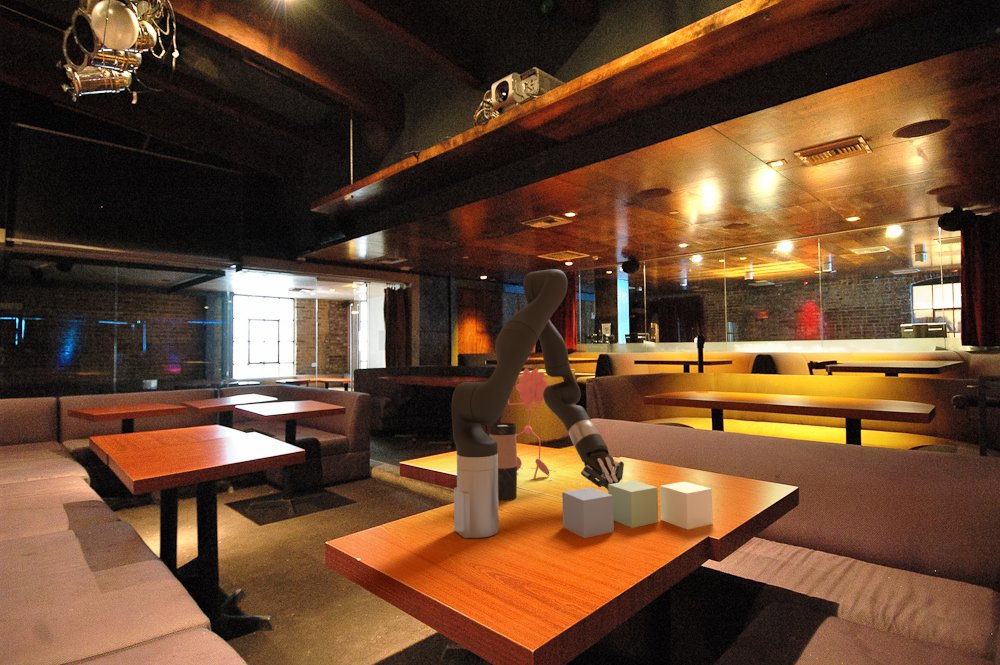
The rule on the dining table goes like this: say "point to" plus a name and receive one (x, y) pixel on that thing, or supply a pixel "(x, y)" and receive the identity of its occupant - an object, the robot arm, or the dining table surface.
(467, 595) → the dining table surface
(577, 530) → the slate block
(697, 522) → the ivory block
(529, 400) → the pink flower figurine
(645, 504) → the sage block
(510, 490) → the travel mug
